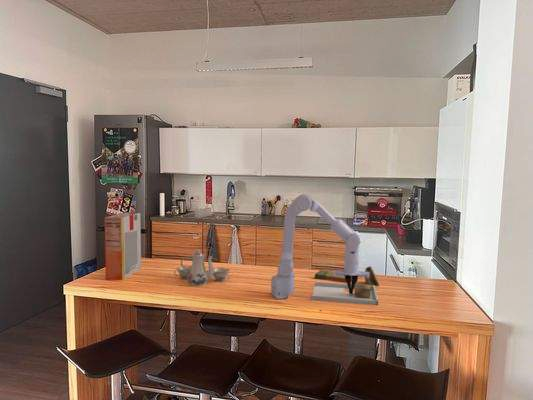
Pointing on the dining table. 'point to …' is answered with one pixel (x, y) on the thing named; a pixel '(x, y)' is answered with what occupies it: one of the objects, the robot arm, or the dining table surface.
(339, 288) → the trap tray
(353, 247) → the robot arm
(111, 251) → the pasta box
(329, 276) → the carton
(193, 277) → the chinaware
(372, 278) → the rock
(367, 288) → the walnut block
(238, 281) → the dining table surface
